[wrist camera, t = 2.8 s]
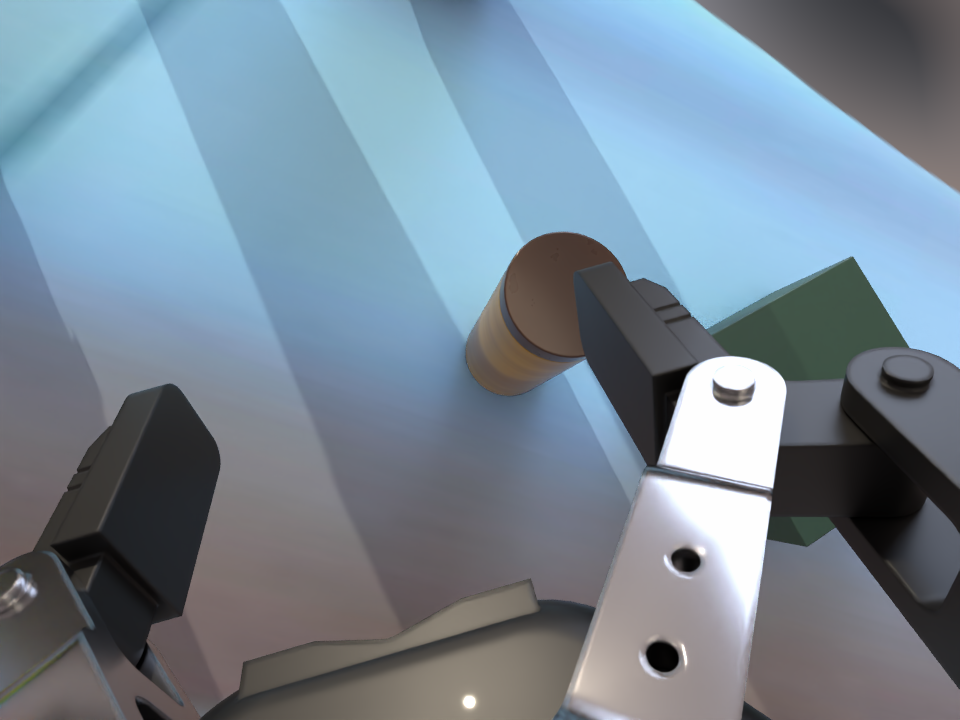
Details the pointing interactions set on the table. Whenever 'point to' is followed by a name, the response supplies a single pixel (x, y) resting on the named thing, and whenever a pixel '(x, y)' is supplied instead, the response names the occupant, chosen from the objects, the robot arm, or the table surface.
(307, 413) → the table surface
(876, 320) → the block
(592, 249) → the lidded jar
